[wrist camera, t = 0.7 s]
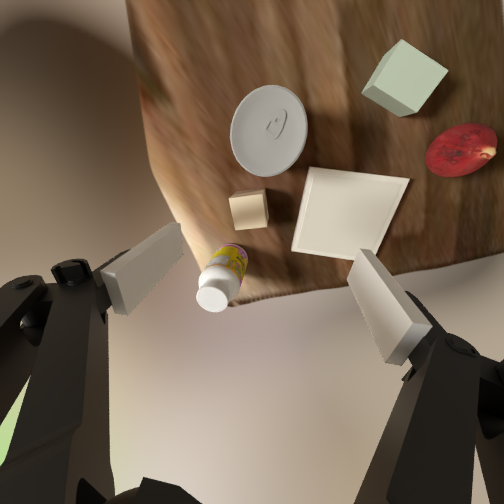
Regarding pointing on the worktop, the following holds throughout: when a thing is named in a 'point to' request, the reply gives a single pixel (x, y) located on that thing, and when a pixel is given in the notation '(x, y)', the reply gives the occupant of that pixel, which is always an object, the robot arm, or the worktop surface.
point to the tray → (345, 211)
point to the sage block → (404, 80)
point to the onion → (461, 150)
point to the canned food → (268, 130)
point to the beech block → (249, 209)
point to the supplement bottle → (222, 277)
